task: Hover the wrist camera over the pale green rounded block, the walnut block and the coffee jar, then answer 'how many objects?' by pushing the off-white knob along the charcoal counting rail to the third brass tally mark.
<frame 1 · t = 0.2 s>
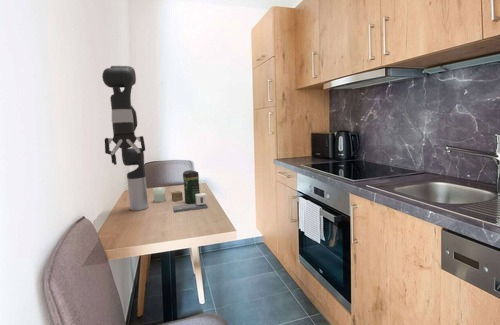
hand: (127, 163, 111), 29 cm above the table, fingers open, 8 cm apart
pale green rounded block: (160, 201, 171), on the table
counting rail: (190, 208, 151), on the table
counting knob: (201, 199, 152), point 4 cm above the table, slide at 0.0 cm
walnut block: (177, 200, 172), on the table
coffee jar: (192, 202, 165), on the table
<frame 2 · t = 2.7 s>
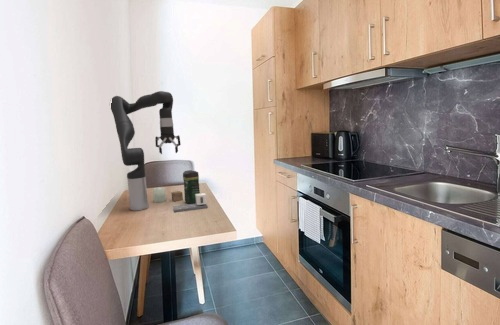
hand: (168, 153, 170), 28 cm above the table, fingers open, 8 cm apart
nothing on the table moved.
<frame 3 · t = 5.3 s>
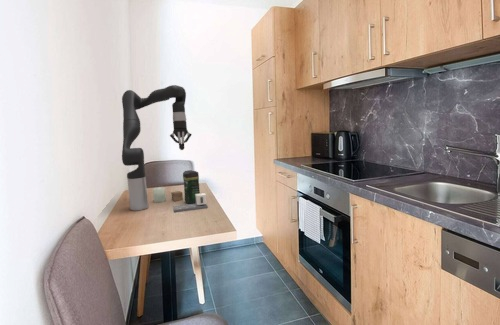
hand: (181, 149, 168), 30 cm above the table, fingers closed
nothing on the table moved.
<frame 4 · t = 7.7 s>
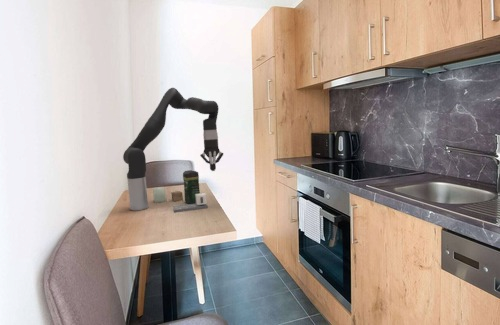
hand: (213, 170, 154), 19 cm above the table, fingers closed
nothing on the table moved.
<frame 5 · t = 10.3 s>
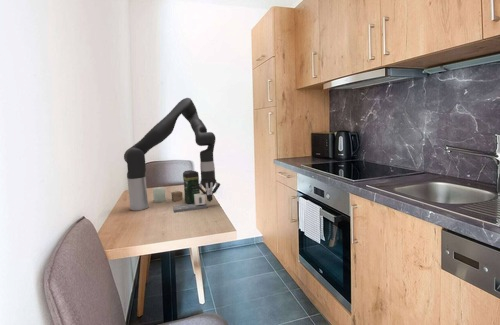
hand: (209, 201, 154), 2 cm above the table, fingers closed
counting knob: (199, 199, 152), point 4 cm above the table, slide at 0.7 cm, touching gripper
everything else where it was.
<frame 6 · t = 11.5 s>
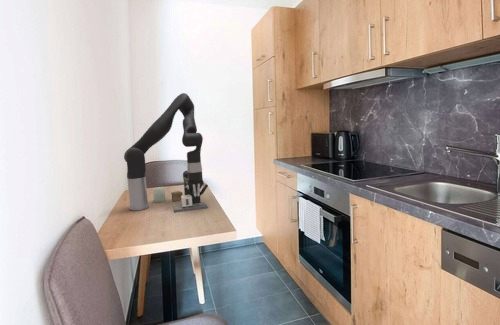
hand: (197, 202, 152), 2 cm above the table, fingers closed
counting knob: (186, 200, 150), point 4 cm above the table, slide at 7.6 cm, touching gripper
everything else where it was.
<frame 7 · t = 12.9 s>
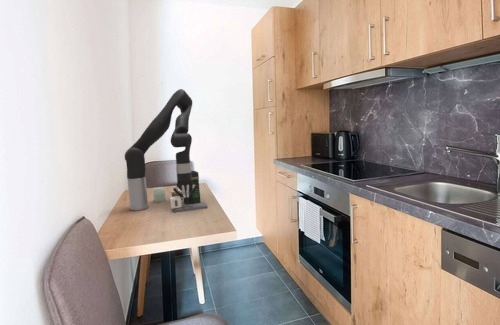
hand: (186, 204, 151), 2 cm above the table, fingers closed
counting knob: (175, 202, 148), point 4 cm above the table, slide at 13.2 cm, touching gripper
everything else where it was.
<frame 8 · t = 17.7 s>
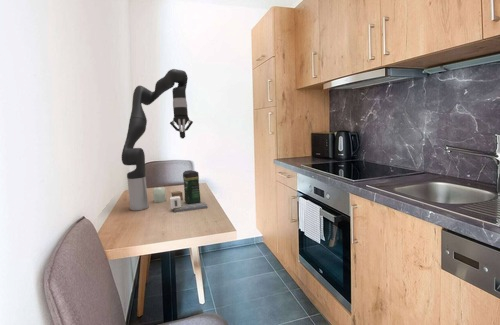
hand: (182, 138, 159), 37 cm above the table, fingers closed
counting knob: (175, 202, 148), point 4 cm above the table, slide at 13.3 cm
everything else where it was.
at the end: counting knob slide at 13.3 cm; coffee jar moved 0.2 cm from its start; walnut block moved 0.1 cm from its start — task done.
